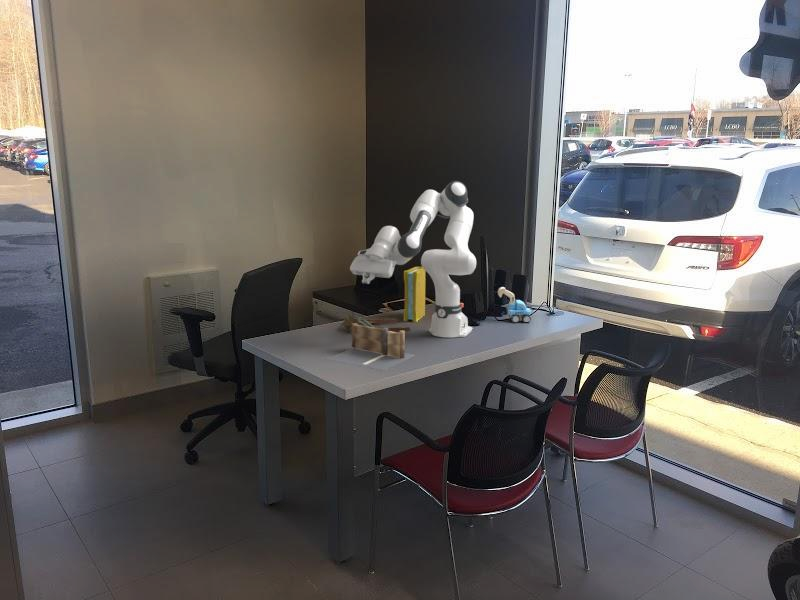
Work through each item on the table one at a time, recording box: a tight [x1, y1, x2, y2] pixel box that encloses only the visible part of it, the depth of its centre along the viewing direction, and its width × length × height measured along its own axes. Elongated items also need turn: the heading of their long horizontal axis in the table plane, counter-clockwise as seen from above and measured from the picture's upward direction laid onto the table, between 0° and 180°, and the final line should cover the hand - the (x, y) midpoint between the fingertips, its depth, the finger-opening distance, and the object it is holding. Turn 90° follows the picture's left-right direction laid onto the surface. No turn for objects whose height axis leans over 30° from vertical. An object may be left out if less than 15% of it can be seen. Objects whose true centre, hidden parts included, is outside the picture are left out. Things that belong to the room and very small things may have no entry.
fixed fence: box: [382, 328, 406, 358], centre depth 267 cm, size 10×2×11 cm, turn 59°
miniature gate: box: [340, 313, 411, 335], centre depth 313 cm, size 27×6×30 cm
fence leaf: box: [351, 323, 382, 353], centre depth 274 cm, size 15×2×10 cm, turn 59°
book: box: [403, 266, 426, 323], centre depth 332 cm, size 17×7×25 cm, turn 159°
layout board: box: [325, 347, 416, 372], centre depth 267 cm, size 24×28×1 cm
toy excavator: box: [497, 286, 532, 323], centre depth 327 cm, size 9×17×17 cm, turn 88°
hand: (365, 282), depth 280 cm, fingers closed
